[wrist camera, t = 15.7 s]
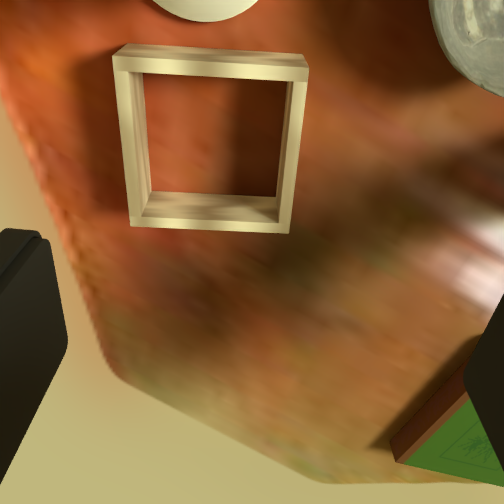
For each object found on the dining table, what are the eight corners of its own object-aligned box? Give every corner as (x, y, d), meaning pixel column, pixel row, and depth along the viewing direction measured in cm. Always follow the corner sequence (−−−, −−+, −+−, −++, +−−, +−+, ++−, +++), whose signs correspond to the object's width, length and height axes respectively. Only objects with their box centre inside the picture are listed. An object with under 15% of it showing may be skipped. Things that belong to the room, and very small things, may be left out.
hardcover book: (492, 327, 54) (507, 350, 51) (611, 364, 58) (632, 388, 55) (386, 441, 67) (392, 464, 64) (489, 465, 71) (500, 489, 68)
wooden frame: (302, 54, 36) (309, 67, 32) (285, 206, 44) (288, 233, 40) (127, 43, 36) (111, 55, 32) (141, 199, 44) (130, 226, 39)
